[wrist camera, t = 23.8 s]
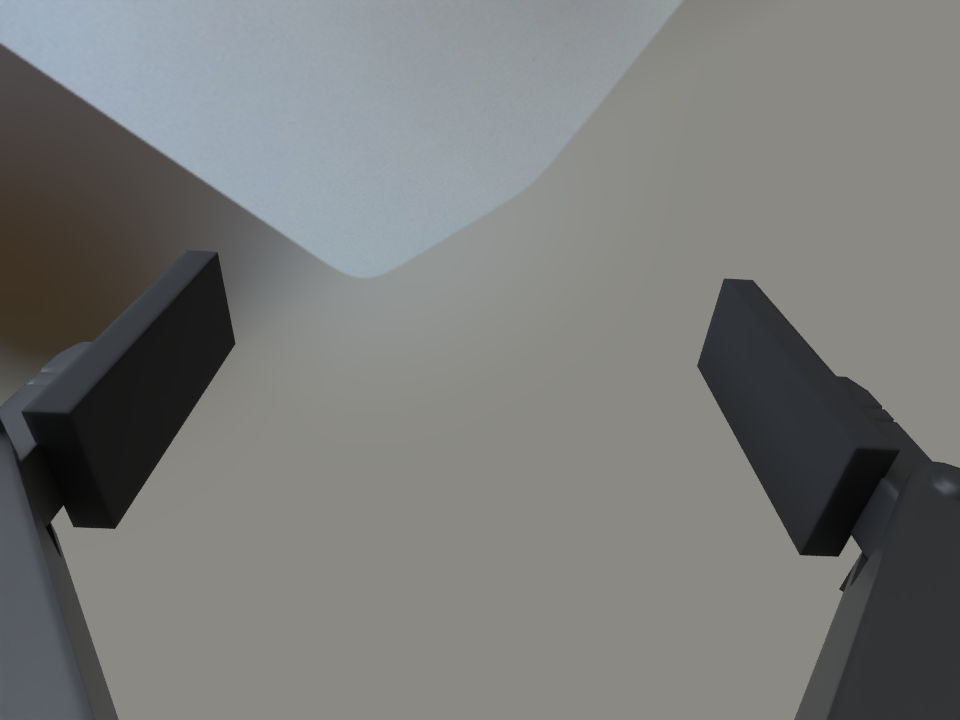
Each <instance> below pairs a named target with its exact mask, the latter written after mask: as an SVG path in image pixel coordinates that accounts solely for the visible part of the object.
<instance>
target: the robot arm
mask: <svg viewBox="0 0 960 720" xmlns="http://www.w3.org/2000/svg"><path fill="white" fill-rule="evenodd" d="M234 345H235V339H234V334H233V329H232V324H231V319H230V313H229V309H228V304H227V298H226V293H225V288H224V283H223V278H222V273H221V267H220V262H219V257H218V253H217V252H208V251H188V250H187V251H186V252H185V253H184V254H183V255H182V256H181V257H180V258H179V259H178V260H177V261H176V262H175V263H174V264H173V265H172V266H171V267H170V268H168V269H167V270H166V271H165V273H163V274H162V275H161V276H160V277H159V278H158V279H157V280H156V281H155V282H154V283H153V284H152V285H151V286H150V287H149V288H148V289H147V290H146V291H145V292H144V293H143V294H142V295H141V296H140V297H139V298H138V299H136V301H134V302H133V303H132V304H131V305H130V306H129V307H128V308H127V309H126V310H125V311H124V312H123V313H122V314H121V315H120V316H119V317H118V318H117V319H116V320H115V321H114V322H113V323H112V324H111V325H110V326H109V327H108V328H107V329H105V331H104V332H102V334H100V335H99V336H98V337H97V338H96V339H95V340H94V341H93V342H80V343H78V344H76V345H74V346H73V347H71V348H69V349H67V350H65V351H63V352H61V353H59V354H57V355H56V356H55V357H54V358H53V359H52V360H51V361H50V362H49V363H48V364H46V365H45V366H44V367H43V368H42V369H41V370H42V371H41V372H38V373H37V374H36V375H34V376H33V378H31V379H30V380H29V381H28V384H25V385H24V386H22V387H21V388H20V389H19V390H18V391H17V392H16V393H15V394H14V395H13V396H12V397H11V398H9V399H8V400H7V401H6V402H5V403H4V404H3V405H2V406H1V407H0V720H118V717H117V714H116V711H115V708H114V705H113V702H112V699H111V696H110V693H109V690H108V687H107V684H106V681H105V678H104V675H103V672H102V669H101V666H100V663H99V660H98V657H97V654H96V651H95V648H94V645H93V642H92V639H91V636H90V633H89V630H88V627H87V624H86V621H85V618H84V615H83V612H82V609H81V606H80V603H79V600H78V597H77V594H76V591H75V588H74V585H73V582H72V579H71V576H70V573H69V570H68V567H67V564H66V561H65V558H64V555H63V552H62V549H61V546H60V543H59V540H58V537H57V534H56V532H55V530H54V528H53V526H52V524H51V521H52V519H53V518H54V517H55V515H56V514H57V513H58V512H59V510H60V509H61V508H62V506H63V505H64V507H65V509H66V511H67V513H68V516H69V518H70V520H71V522H72V524H73V527H83V528H109V529H110V528H111V529H115V528H116V526H117V525H118V524H119V522H120V521H121V519H122V518H123V516H124V514H125V513H126V511H127V510H128V508H129V507H130V505H131V504H132V502H133V500H134V499H135V497H136V496H137V494H138V493H139V491H140V490H141V488H142V487H143V485H144V484H145V482H146V481H147V479H148V477H149V476H150V474H151V473H152V471H153V470H154V468H155V467H156V465H157V464H158V462H159V461H160V459H161V457H162V456H163V454H164V453H165V451H166V450H167V448H168V447H169V445H170V444H171V442H172V440H173V439H174V437H175V436H176V434H177V433H178V431H179V430H180V428H181V426H182V425H183V424H184V422H185V420H186V419H187V417H188V416H189V414H190V413H191V411H192V410H193V408H194V407H195V405H196V404H197V402H198V401H199V399H200V397H201V396H202V394H203V393H204V391H205V390H206V388H207V386H208V385H209V384H210V382H211V381H212V379H213V377H214V376H215V374H216V373H217V371H218V370H219V368H220V367H221V365H222V364H223V362H224V361H225V359H226V357H227V356H228V354H229V353H230V351H231V350H232V348H233V347H234ZM697 366H698V368H699V370H700V372H701V374H702V376H703V377H704V379H705V381H706V383H707V385H708V387H709V388H710V390H711V392H712V394H713V396H714V398H715V399H716V401H717V403H718V405H719V407H720V409H721V411H722V412H723V414H724V416H725V418H726V420H727V422H728V423H729V425H730V427H731V429H732V431H733V433H734V435H735V436H736V438H737V440H738V442H739V444H740V446H741V447H742V449H743V451H744V453H745V455H746V457H747V458H748V460H749V462H750V464H751V466H752V468H753V469H754V471H755V473H756V475H757V477H758V479H759V481H760V482H761V484H762V486H763V488H764V490H765V492H766V493H767V495H768V497H769V499H770V500H771V503H772V504H773V506H774V508H775V510H776V512H777V514H778V515H779V517H780V519H781V521H782V523H783V525H784V527H785V528H786V530H787V532H788V534H789V536H790V538H791V539H792V541H793V543H794V545H795V547H796V548H797V550H798V552H799V554H800V555H811V556H836V557H837V556H839V555H840V553H841V551H842V550H843V548H844V546H845V545H846V543H847V541H848V539H849V537H850V536H851V535H852V536H853V538H854V539H855V541H856V542H857V544H858V546H859V547H860V549H861V550H862V553H861V554H860V556H859V558H858V559H857V561H856V562H855V564H854V566H853V567H852V569H851V571H850V572H849V574H848V576H847V577H846V579H845V581H844V582H843V584H842V585H841V587H840V590H841V591H843V592H844V593H843V596H842V598H841V601H840V603H839V606H838V608H837V611H836V613H835V616H834V619H833V621H832V624H831V626H830V629H829V632H828V634H827V637H826V639H825V642H824V644H823V647H822V650H821V652H820V655H819V657H818V660H817V663H816V665H815V668H814V670H813V673H812V676H811V678H810V681H809V683H808V686H807V689H806V691H805V694H804V696H803V699H802V701H801V704H800V707H799V709H798V712H797V714H796V717H795V719H794V720H960V468H958V467H955V466H952V465H949V464H946V463H940V462H932V461H931V459H930V458H929V457H928V456H927V455H926V454H925V453H924V452H923V451H922V450H921V449H920V447H919V446H918V445H917V444H916V443H915V442H914V441H913V440H912V439H911V438H910V437H909V435H908V434H907V433H906V432H905V431H904V430H903V429H902V428H901V427H900V425H899V424H898V423H896V422H893V420H894V419H893V418H892V417H891V416H890V415H889V413H888V412H887V411H886V410H883V409H882V406H881V405H880V404H879V402H878V401H877V400H876V399H875V398H874V397H873V396H872V395H871V394H870V393H869V392H868V391H867V390H866V389H864V388H863V387H861V386H860V385H858V384H857V383H855V382H854V381H852V380H850V379H849V378H847V377H838V376H836V375H835V374H834V373H833V372H832V371H831V370H830V369H829V367H828V366H827V365H826V364H825V363H824V362H823V361H822V359H821V358H820V357H819V356H818V355H817V354H816V352H815V351H814V350H813V349H812V348H811V347H810V346H809V344H808V343H807V342H806V341H805V340H804V339H803V337H802V336H801V335H800V334H799V333H798V332H797V331H796V329H795V328H794V327H793V326H792V325H791V324H790V323H789V321H788V320H787V319H786V318H785V317H784V316H783V315H782V314H781V312H780V311H779V310H778V309H777V308H776V306H775V305H774V304H773V303H772V302H771V301H770V300H769V298H768V297H767V296H766V295H765V294H764V293H763V292H762V290H761V289H760V288H759V287H758V286H757V285H756V283H755V282H754V281H753V280H740V279H724V280H723V284H722V287H721V290H720V293H719V297H718V300H717V303H716V307H715V310H714V313H713V316H712V319H711V323H710V326H709V329H708V332H707V336H706V339H705V342H704V346H703V349H702V352H701V355H700V359H699V362H698V365H697Z"/></svg>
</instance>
